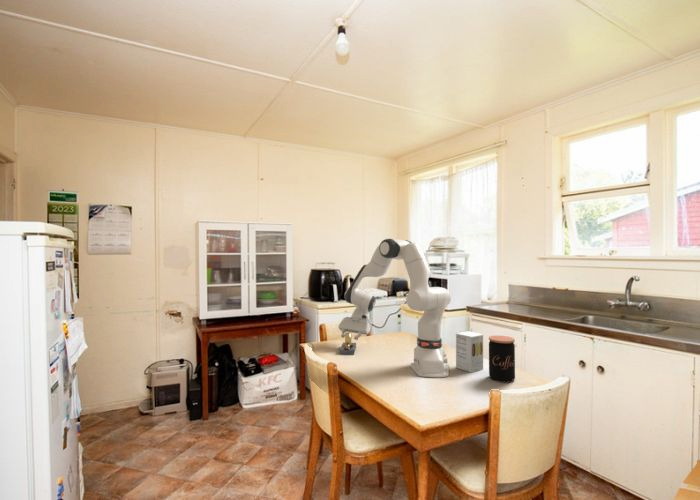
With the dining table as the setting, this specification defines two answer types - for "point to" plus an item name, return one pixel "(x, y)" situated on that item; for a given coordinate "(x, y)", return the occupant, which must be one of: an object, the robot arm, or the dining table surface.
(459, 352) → the supplement box
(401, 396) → the dining table surface
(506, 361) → the coffee jar
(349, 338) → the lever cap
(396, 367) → the dining table surface
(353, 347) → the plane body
